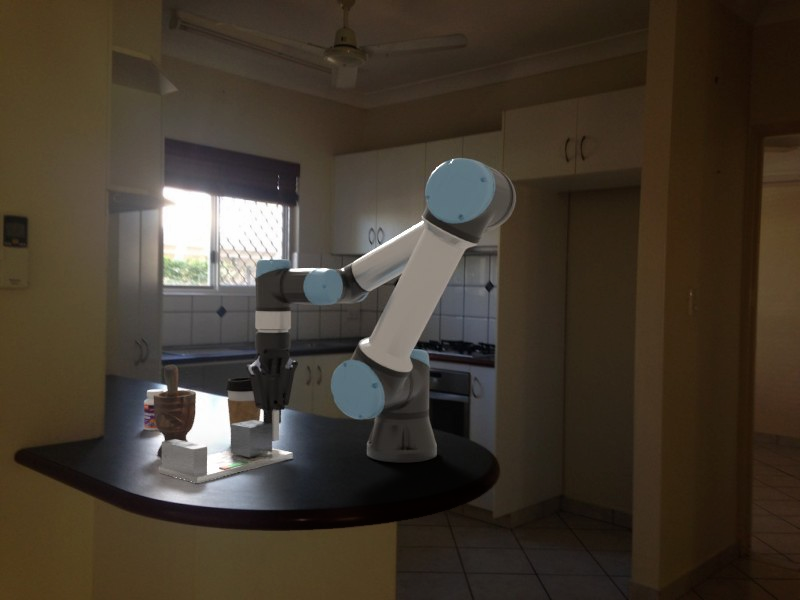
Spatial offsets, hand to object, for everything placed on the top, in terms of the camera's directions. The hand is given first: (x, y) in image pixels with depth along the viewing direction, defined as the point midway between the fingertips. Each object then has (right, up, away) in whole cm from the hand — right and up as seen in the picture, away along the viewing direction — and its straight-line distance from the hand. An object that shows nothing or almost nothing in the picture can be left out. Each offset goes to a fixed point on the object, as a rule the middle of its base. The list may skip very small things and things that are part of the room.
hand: (272, 439), depth 149 cm
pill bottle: (-34, -3, +25) cm, 42 cm away
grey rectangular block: (-2, -2, -6) cm, 6 cm away
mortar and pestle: (-20, -3, -2) cm, 20 cm away
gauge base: (-7, -3, -10) cm, 12 cm away
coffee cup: (-8, -3, +11) cm, 14 cm away
